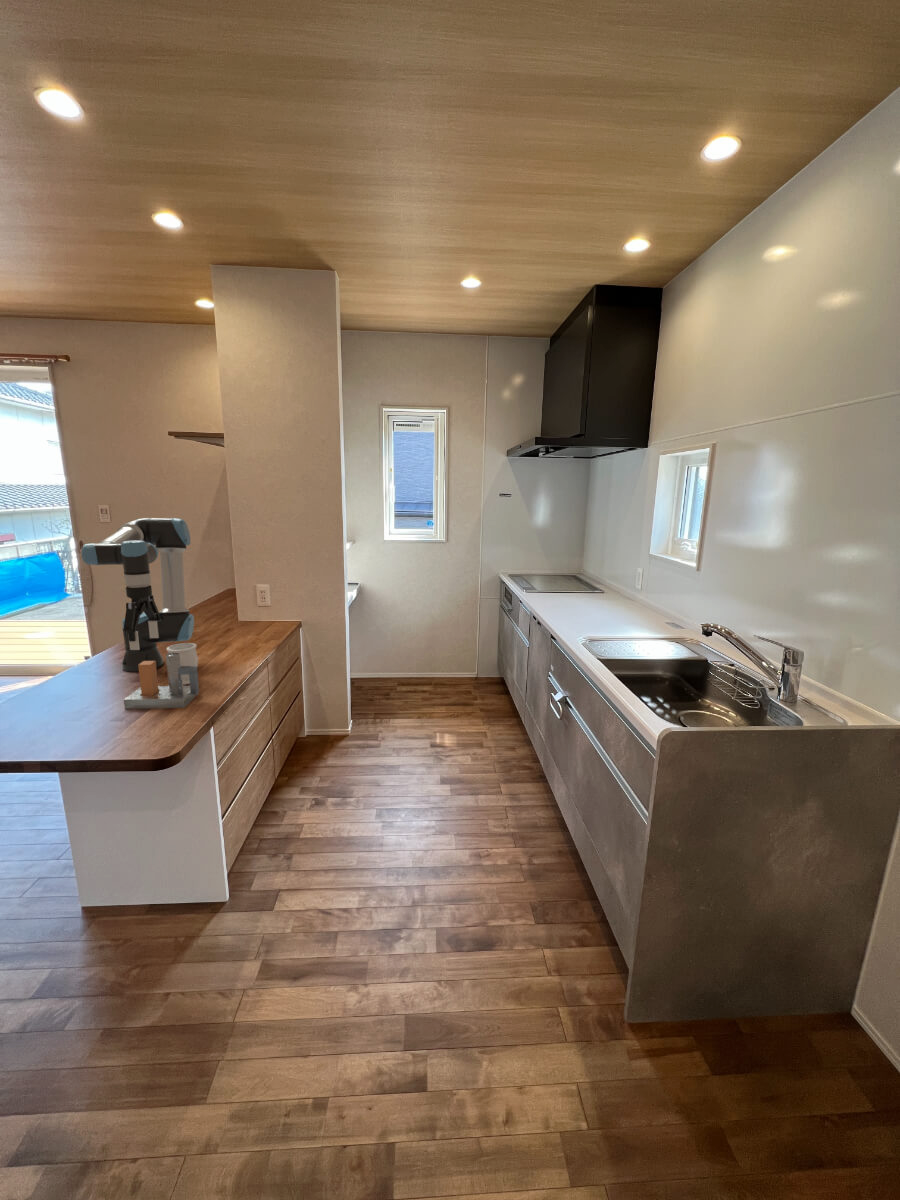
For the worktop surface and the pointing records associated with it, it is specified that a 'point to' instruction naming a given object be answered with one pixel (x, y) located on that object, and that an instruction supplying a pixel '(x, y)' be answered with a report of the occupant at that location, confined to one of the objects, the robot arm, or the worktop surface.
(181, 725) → the worktop surface
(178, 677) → the plate with square hole
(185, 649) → the jar
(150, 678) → the orange square bar
